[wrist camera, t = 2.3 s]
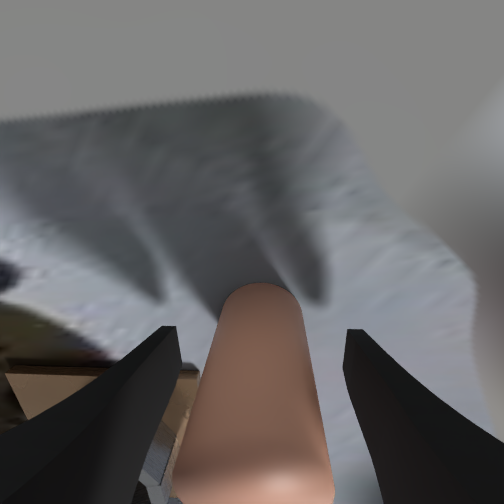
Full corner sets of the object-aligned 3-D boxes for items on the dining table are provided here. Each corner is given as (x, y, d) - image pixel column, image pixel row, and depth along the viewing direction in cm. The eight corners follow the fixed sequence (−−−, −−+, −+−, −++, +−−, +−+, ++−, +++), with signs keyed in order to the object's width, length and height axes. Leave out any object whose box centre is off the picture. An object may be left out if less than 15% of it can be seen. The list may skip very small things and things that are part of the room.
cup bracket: (215, 489, 18) (205, 552, 16) (68, 480, 19) (33, 537, 16) (199, 370, 14) (181, 426, 12) (14, 365, 15) (-45, 415, 12)
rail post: (300, 351, 14) (328, 539, 7) (224, 349, 14) (182, 527, 7) (304, 282, 12) (342, 439, 6) (218, 282, 12) (160, 431, 6)
